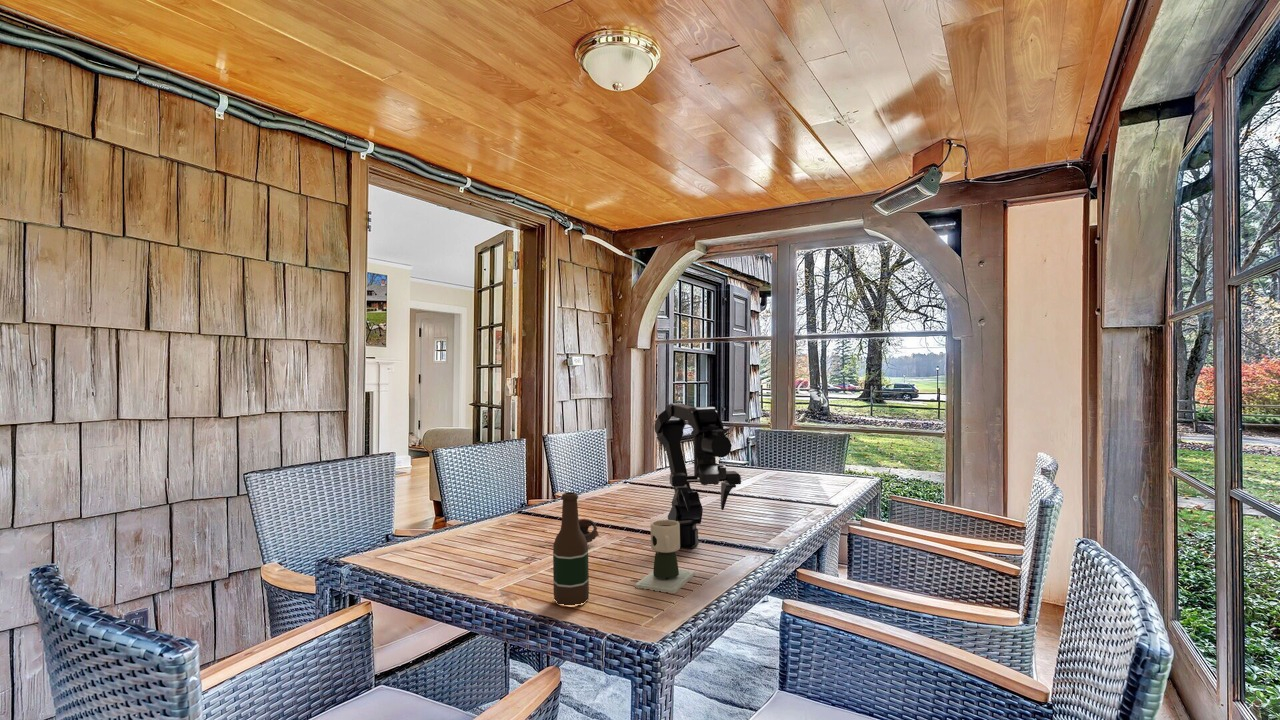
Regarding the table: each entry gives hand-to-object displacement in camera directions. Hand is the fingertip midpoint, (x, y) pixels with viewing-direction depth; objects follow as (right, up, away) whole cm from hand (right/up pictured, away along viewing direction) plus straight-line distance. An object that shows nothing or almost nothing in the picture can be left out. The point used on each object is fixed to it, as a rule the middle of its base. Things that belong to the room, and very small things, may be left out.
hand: (705, 510), depth 161 cm
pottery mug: (-36, -14, +17) cm, 42 cm away
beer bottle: (-33, -13, -29) cm, 46 cm away
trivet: (-11, -13, -17) cm, 24 cm away
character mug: (-11, -12, -17) cm, 24 cm away
